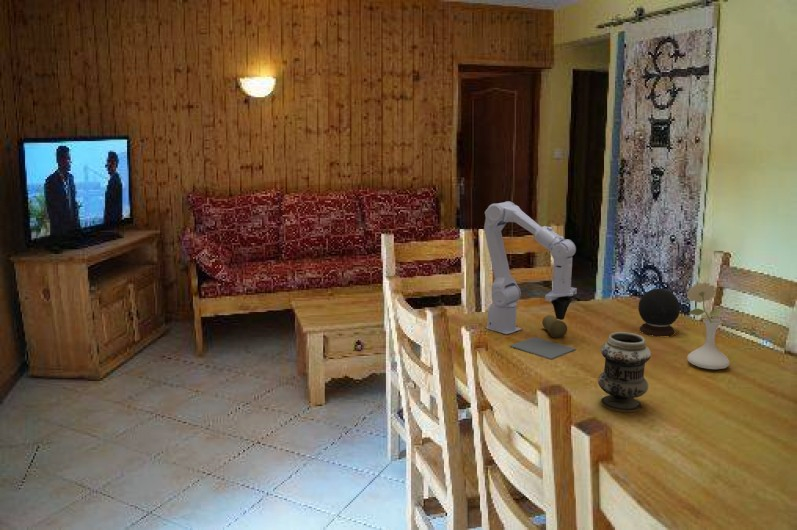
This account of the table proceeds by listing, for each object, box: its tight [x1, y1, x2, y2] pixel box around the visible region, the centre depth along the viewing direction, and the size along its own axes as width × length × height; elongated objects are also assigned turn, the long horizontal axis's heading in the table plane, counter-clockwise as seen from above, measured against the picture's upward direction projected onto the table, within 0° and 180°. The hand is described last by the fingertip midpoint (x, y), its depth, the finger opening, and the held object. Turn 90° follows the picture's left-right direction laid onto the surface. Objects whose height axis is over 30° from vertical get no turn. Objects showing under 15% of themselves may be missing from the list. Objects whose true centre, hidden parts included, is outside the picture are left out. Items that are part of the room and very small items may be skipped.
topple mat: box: [509, 336, 577, 360], centre depth 208 cm, size 16×13×1 cm
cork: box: [541, 314, 568, 339], centre depth 222 cm, size 6×6×11 cm
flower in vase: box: [686, 281, 731, 370], centre depth 190 cm, size 13×11×25 cm
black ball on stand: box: [637, 288, 681, 337], centre depth 222 cm, size 13×13×15 cm
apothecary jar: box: [597, 331, 652, 413], centre depth 164 cm, size 12×12×18 cm
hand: (560, 318), depth 212 cm, fingers closed
